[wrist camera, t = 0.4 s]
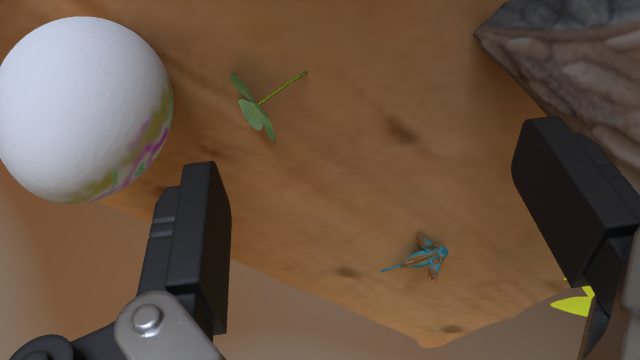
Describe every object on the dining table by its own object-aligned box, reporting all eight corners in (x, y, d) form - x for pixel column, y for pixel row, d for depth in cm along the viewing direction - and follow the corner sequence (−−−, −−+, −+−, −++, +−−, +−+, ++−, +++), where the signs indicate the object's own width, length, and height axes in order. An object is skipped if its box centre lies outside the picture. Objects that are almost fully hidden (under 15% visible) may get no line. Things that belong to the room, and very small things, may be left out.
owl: (608, -84, 35) (842, 48, 21) (656, 22, 42) (856, 173, 28) (468, 30, 41) (579, 193, 27) (531, 106, 48) (645, 267, 34)
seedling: (275, 59, 47) (223, 94, 45) (286, 21, 39) (223, 63, 37) (319, 114, 47) (268, 152, 45) (338, 88, 39) (278, 132, 37)
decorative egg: (105, 139, 46) (60, 265, 35) (-8, 39, 37) (-111, 166, 27) (208, 86, 42) (192, 208, 32) (109, -34, 34) (45, 75, 24)
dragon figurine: (424, 281, 68) (461, 271, 62) (386, 294, 65) (421, 286, 58) (409, 238, 70) (444, 225, 63) (371, 250, 66) (403, 237, 60)
